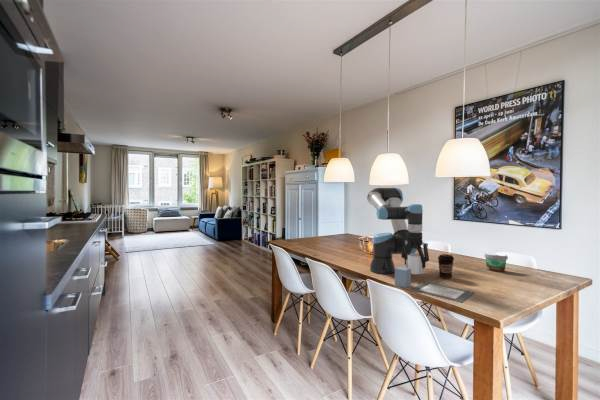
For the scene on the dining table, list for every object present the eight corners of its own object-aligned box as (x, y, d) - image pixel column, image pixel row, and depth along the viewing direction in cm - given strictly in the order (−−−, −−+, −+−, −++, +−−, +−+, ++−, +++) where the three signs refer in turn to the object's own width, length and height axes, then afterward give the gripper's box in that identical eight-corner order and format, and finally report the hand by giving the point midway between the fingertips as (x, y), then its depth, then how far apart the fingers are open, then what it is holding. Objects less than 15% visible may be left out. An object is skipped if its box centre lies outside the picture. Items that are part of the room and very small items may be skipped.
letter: (419, 289, 146) (419, 289, 146) (429, 283, 155) (429, 283, 155) (455, 298, 134) (455, 298, 134) (464, 291, 143) (464, 291, 143)
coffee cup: (456, 280, 162) (456, 257, 161) (440, 279, 163) (440, 256, 163) (451, 275, 170) (451, 253, 170) (436, 275, 172) (436, 253, 172)
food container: (486, 271, 179) (486, 255, 179) (484, 268, 185) (484, 253, 184) (510, 273, 174) (510, 256, 174) (507, 270, 180) (507, 254, 180)
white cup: (415, 275, 158) (415, 257, 158) (404, 272, 165) (404, 254, 165) (425, 273, 162) (425, 255, 162) (414, 270, 169) (414, 253, 168)
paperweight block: (394, 285, 154) (394, 268, 154) (400, 282, 158) (400, 266, 158) (405, 287, 150) (405, 270, 150) (410, 285, 154) (410, 268, 154)
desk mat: (410, 289, 147) (410, 289, 147) (425, 281, 159) (425, 281, 159) (462, 302, 130) (462, 302, 130) (474, 292, 142) (474, 292, 142)
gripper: (394, 230, 168) (394, 269, 168) (430, 234, 153) (430, 277, 154) (401, 229, 173) (400, 267, 173) (436, 232, 158) (436, 274, 159)
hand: (414, 272), depth 163 cm, fingers closed on white cup, 7 cm apart
